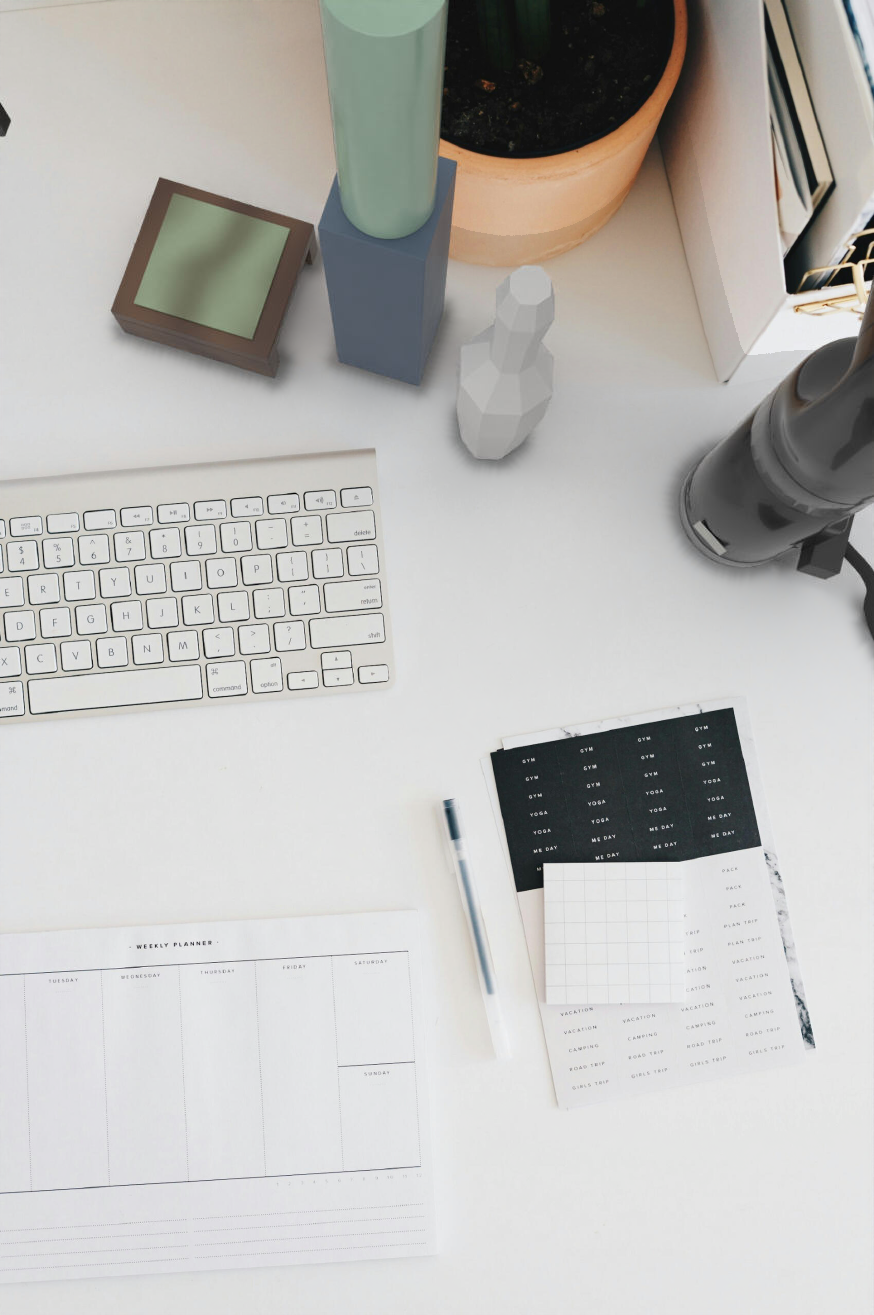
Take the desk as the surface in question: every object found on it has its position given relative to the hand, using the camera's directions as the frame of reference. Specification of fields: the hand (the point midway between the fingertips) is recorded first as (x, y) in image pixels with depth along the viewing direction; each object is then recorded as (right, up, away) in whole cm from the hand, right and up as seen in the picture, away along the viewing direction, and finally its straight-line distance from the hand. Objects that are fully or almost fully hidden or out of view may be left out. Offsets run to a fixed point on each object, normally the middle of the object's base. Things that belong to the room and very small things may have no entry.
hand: (21, 41), depth 41 cm
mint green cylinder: (+16, -1, +12) cm, 20 cm away
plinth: (+15, -3, +30) cm, 34 cm away
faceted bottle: (+23, -10, +29) cm, 39 cm away
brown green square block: (+2, +1, +30) cm, 30 cm away
